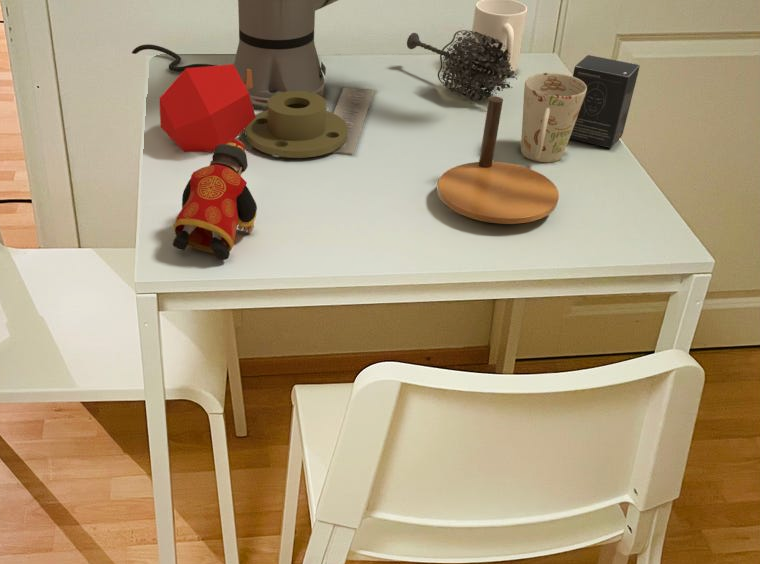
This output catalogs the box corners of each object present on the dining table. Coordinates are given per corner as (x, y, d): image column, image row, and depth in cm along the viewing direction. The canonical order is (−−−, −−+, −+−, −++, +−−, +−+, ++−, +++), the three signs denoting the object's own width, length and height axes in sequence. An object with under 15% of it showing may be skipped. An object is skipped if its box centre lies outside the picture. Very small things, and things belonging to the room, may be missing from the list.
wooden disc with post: (457, 158, 130) (467, 88, 124) (569, 181, 126) (585, 109, 119) (421, 207, 120) (429, 133, 113) (541, 234, 115) (558, 159, 109)
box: (622, 136, 140) (641, 64, 133) (610, 149, 136) (629, 76, 129) (571, 124, 143) (587, 53, 136) (558, 137, 139) (574, 64, 132)
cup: (508, 59, 162) (519, -3, 155) (528, 87, 153) (540, 22, 146) (461, 61, 161) (470, -2, 154) (479, 88, 153) (489, 23, 146)
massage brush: (384, 38, 152) (401, 82, 159) (484, 80, 139) (498, 125, 146) (423, -3, 152) (439, 42, 160) (526, 35, 139) (538, 82, 147)
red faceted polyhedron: (187, 182, 137) (278, 136, 138) (165, 131, 126) (265, 81, 126) (155, 123, 141) (244, 79, 142) (132, 68, 130) (228, 20, 130)
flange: (363, 91, 137) (270, 75, 142) (326, 133, 127) (227, 114, 132) (361, 122, 141) (270, 105, 145) (325, 165, 131) (228, 146, 135)
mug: (573, 145, 138) (588, 76, 131) (566, 183, 129) (583, 112, 122) (516, 137, 139) (528, 69, 132) (505, 174, 130) (518, 104, 124)
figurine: (243, 281, 117) (279, 181, 121) (233, 241, 108) (273, 134, 112) (171, 264, 118) (209, 165, 122) (156, 223, 109) (197, 118, 113)
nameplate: (352, 152, 134) (318, 149, 135) (352, 154, 134) (318, 151, 135) (374, 89, 151) (343, 87, 152) (374, 91, 151) (343, 89, 152)
